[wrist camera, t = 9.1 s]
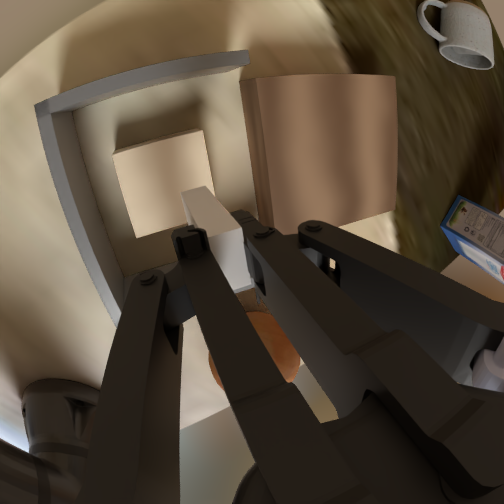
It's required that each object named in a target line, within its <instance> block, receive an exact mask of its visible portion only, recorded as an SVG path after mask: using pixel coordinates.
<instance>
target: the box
mask: <svg viewBox="0 0 504 504" xmlns="http://www.w3.org/2000/svg"><path fill="white" fill-rule="evenodd" d="M247 64H250V60H249V53H248V50H240V51H230V52H221V53H214V54H206V55H200V56H194V57H188V58H182V59H177V60H172V61H167V62H162V63H158V64H153V65H149V66H145V67H141V68H137V69H133V70H129V71H126V72H122V73H119V74H115V75H112V76H109V77H105V78H102V79H99V80H96V81H93V82H90V83H87V84H85V85H82V86H79V87H76V88H74V89H71V90H68V91H66V92H63V93H61V94H58V95H56V96H53V97H51V98H49V99H46V100H44V101H42V102H40V103H37V104H35V105H34V107H35V112H36V117H37V121H38V126H39V130H40V134H41V139H42V143H43V146H44V150H45V154H46V158H47V161H48V165H49V168H50V172H51V175H52V178H53V181H54V185H55V188H56V191H57V194H58V197H59V200H60V203H61V205H62V208H63V211H64V214H65V217H66V219H67V222H68V225H69V227H70V230H71V232H72V235H73V237H74V240H75V242H76V245H77V247H78V250H79V252H80V254H81V257H82V259H83V261H84V263H85V266H86V268H87V270H88V272H89V275H90V277H91V279H92V281H93V283H94V285H95V287H96V289H97V291H98V293H99V295H100V298H101V300H102V302H103V303H104V305H105V307H106V309H107V311H108V313H109V315H110V317H111V319H112V321H113V323H114V324H115V326H116V328H117V326H118V322H119V319H120V316H121V313H122V309H123V306H124V303H125V300H126V297H127V294H128V291H129V288H130V285H131V282H132V281H133V279H134V278H135V277H136V276H137V275H138V274H140V273H137V274H134V275H131V276H128V277H124V276H123V274H122V271H121V269H120V266H119V264H118V262H117V259H116V256H115V254H114V251H113V249H112V246H111V243H110V241H109V238H108V235H107V233H106V230H105V227H104V224H103V221H102V219H101V216H100V213H99V210H98V207H97V204H96V201H95V198H94V194H93V191H92V188H91V185H90V181H89V178H88V175H87V171H86V168H85V164H84V160H83V157H82V153H81V149H80V145H79V141H78V137H77V133H76V129H75V125H74V120H73V115H72V111H74V110H76V109H79V108H82V107H85V106H87V105H90V104H93V103H96V102H99V101H102V100H105V99H108V98H111V97H115V96H118V95H121V94H125V93H128V92H132V91H136V90H139V89H143V88H147V87H151V86H155V85H159V84H164V83H168V82H173V81H177V80H182V79H187V78H193V77H198V76H204V75H210V74H217V73H223V72H228V71H230V70H233V69H236V68H239V67H242V66H244V65H247ZM177 263H178V261H177V262H174V263H170V264H167V265H164V266H160V267H157V268H154V269H158V270H161V271H162V272H163V273H164V274H166V273H168V272H169V271H171V270H172V269H173V268H175V266H176V265H177ZM151 270H152V269H151ZM250 279H251V285H248V286H245V287H242V288H239V289H236V290H233V291H234V293H238V292H241V291H244V290H248V289H251V288H254V287H255V285H254V279H253V278H252V276H251V275H250Z"/></svg>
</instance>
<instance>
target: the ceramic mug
mask: <svg viewBox="0 0 504 504" xmlns="http://www.w3.org/2000/svg"><path fill="white" fill-rule="evenodd" d="M428 4H430V5H434V6H437V7H439V8H441V9H442V10H441V25H440V33H438V32H437V31H436V30H435V29H434V28H432V26H431V25H430V24H429V23H428V21H427V20H426V18H425V16H424V12H423V11H424V10H425V9H426V6H427V5H428ZM417 17H418V20H419V23H420V24H421V26H422V27H423V29H424V30H425V31H426V32H427V33H428V34H430V35H431V36H432V37H434V38H435V39H437V40H438V41H439V52H440V53H441V55H443V56H444V57H445V58H446V59H448V60H450V61H452V62H454V63H456V64H459V65H462V66H464V67H469V68H474V69H483V70H484V69H490V68H492V67H493V66H494V54H493V42H492V31H491V25H490V21H489V18H488V16H487V14H486V13H485V12H484V11H483V10H482V9H481V8H479V7H478V6H476V5H474V4H472V3H469V2H466V1H461V0H452V1H448V2H446V3H443V2H441V1H438V0H426V1H424V2H423V3H421V4H420V5H419V6H418V10H417Z"/></svg>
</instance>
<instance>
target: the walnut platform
mask: <svg viewBox="0 0 504 504" xmlns="http://www.w3.org/2000/svg"><path fill="white" fill-rule="evenodd" d="M239 84H240V90H241V97H242V104H243V110H244V117H245V124H246V131H247V138H248V145H249V152H250V159H251V166H252V173H253V180H254V187H255V194H256V202H257V209H258V216H259V222H260V223H261V224H262V225H263V226H269V227H274V228H276V229H277V230H278V231H280V232H281V233H282V234H283V235H289V234H297V233H298V226H299V225H300V224H301V223H303V222H306V221H308V220H319V221H323V222H326V223H328V224H331V225H333V226H336V227H339V226H342V225H346V224H349V223H352V222H356V221H359V220H362V219H365V218H369V217H372V216H375V215H379V214H382V213H385V212H388V211H392V210H395V203H396V187H397V157H398V127H397V99H396V83H395V76H383V75H365V74H305V75H286V76H273V77H262V78H254V79H249V80H244V81H239Z"/></svg>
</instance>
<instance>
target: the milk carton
mask: <svg viewBox="0 0 504 504" xmlns="http://www.w3.org/2000/svg"><path fill="white" fill-rule="evenodd" d="M440 226H441V228H442V229H443V231H444V233H445V234H446V236H447V238H448V239H449V241H450V243H451V244H452V246H453V248H454V250H455V251H456V252H458V253H459V254H461V255H462V256H464V257H465V258H467V259H468V260H470V261H471V262H473V263H474V264H476V265H477V266H479V267H480V268H481V269H483V270H484V271H486V272H487V273H489V274H490V275H491V276H493V277H494V278H496V279H497V280H498V281H500V282H501V283H502V284H504V218H503V217H501V216H499V215H498V214H496V213H494V212H492V211H490V210H488V209H486V208H484V207H482V206H480V205H478V204H476V203H474V202H472V201H470V200H468V199H466V198H464V197H462V196H460V195H458V196H457V198H456V200H455V202H454V203H453V205H452V207H451V208H450V210H449V212H448V213H447V215H446V217H445V218H444V220H443V222H442V223H441V225H440Z"/></svg>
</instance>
